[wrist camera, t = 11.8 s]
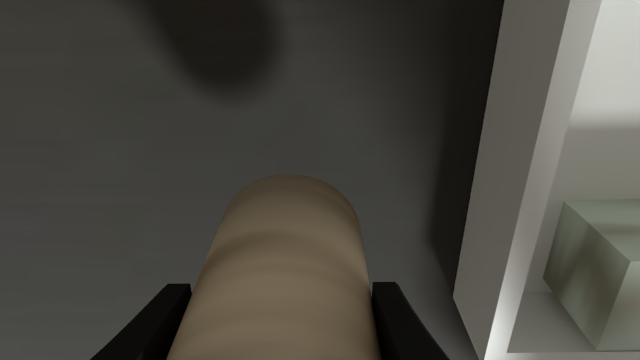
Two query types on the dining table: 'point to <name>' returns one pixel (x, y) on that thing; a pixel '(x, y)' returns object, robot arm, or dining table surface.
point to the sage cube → (599, 270)
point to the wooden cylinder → (282, 280)
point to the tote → (547, 167)
